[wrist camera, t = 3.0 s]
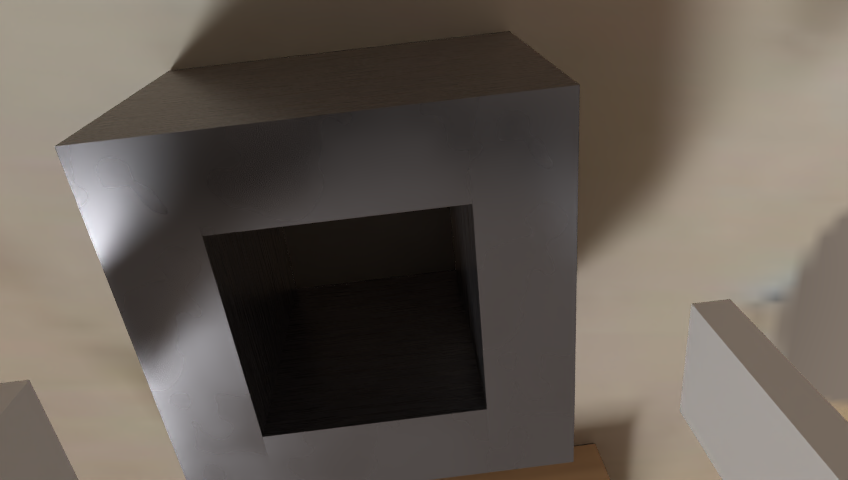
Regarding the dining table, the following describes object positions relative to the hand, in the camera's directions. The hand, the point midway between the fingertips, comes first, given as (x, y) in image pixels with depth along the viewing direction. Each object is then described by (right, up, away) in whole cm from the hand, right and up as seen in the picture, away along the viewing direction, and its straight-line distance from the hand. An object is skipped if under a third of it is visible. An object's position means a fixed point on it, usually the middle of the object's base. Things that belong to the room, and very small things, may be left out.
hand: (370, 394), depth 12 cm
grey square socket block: (-1, +4, +8) cm, 9 cm away
